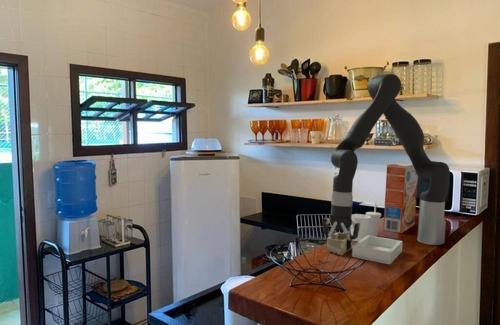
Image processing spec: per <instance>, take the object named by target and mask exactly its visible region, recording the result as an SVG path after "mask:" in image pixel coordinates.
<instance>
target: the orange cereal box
mask: <svg viewBox="0 0 500 325" xmlns="http://www.w3.org/2000/svg"><path fill="white" fill-rule="evenodd" d="M418 178H419V177H418V175H417V173H416V171H415V169H414V167H413V164H412V162H396V163H390V164H386V176H385V193H384V194H385V196H384V209H383V212H384V213H383V228H382V231H386V232H393V233H397V234H403V233H404V232H405V231H407V230H409V229H410V228H411V227H413V226H415V223H416V222H415V221H416V209H417V207H416V206H417V197H418V196H417V193H418V181H419V180H418Z"/></svg>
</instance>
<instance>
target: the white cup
mask: <svg viewBox="0 0 500 325" xmlns="http://www.w3.org/2000/svg"><path fill="white" fill-rule="evenodd" d="M352 221H353V222H355V223H360V227H359V232H358V237H357V238H356V239H355V240H354V239H353V240H352V242H355V243H357V242H359V241H360V240H361V239H363V238H364V237H366V236H367V235H369V231H370V222H371V216H368V215H366V214H361V213H354V214H353V213H352ZM350 230H351V234H352V235H353V231H354V228H353V225H351V226H350Z"/></svg>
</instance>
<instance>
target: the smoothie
mask: <svg viewBox="0 0 500 325" xmlns="http://www.w3.org/2000/svg"><path fill="white" fill-rule="evenodd" d="M365 215H368V216H371V222H370V231H369V235H370V236H376V237H378V232H379V226H380V221H381V217H382V213H380V212H377V203H374V211H367V212H365Z"/></svg>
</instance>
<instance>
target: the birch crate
mask: <svg viewBox="0 0 500 325" xmlns="http://www.w3.org/2000/svg"><path fill="white" fill-rule="evenodd" d="M352 236H353V235H352ZM347 240H348V239H347V237H346V235H345V233H344V232H339V231H337V232H335V233H334V234H333V235H332V236H330V237H329V238H328V237H327V238H326V251H328V252H327V253H330V252H333V253H332V254H335V253H337V254H336V255H339V256H340V255H341V256H343V255H344V254H346V253H347V252H349V250H352V248H350V249H349V250H347ZM345 252H346V253H345Z"/></svg>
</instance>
